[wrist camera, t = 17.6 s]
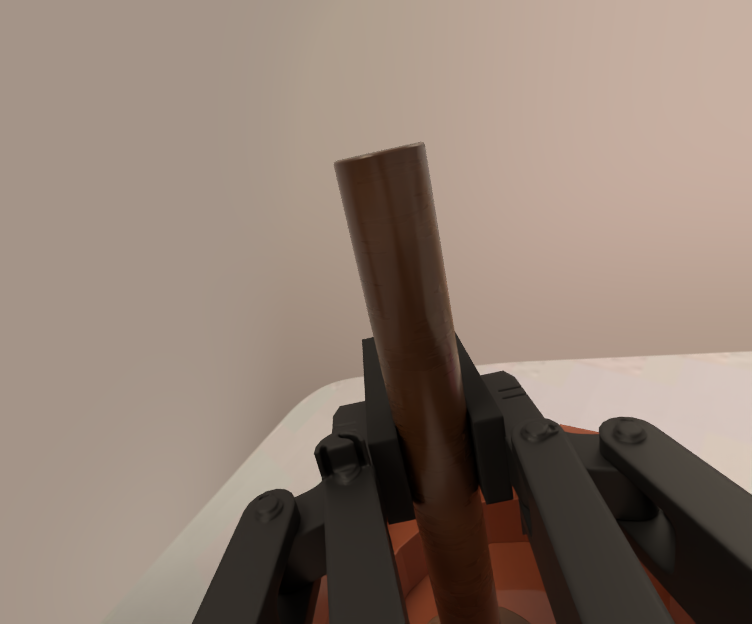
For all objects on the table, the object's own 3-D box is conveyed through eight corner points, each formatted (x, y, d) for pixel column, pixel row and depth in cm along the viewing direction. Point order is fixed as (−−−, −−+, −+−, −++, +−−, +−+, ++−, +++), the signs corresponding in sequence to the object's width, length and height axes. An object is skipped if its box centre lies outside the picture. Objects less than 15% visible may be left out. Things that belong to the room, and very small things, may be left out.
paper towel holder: (383, 673, 18) (227, 184, 11) (501, 599, 20) (429, 139, 13) (465, 877, 13) (263, 180, 6) (616, 750, 14) (599, 102, 8)
